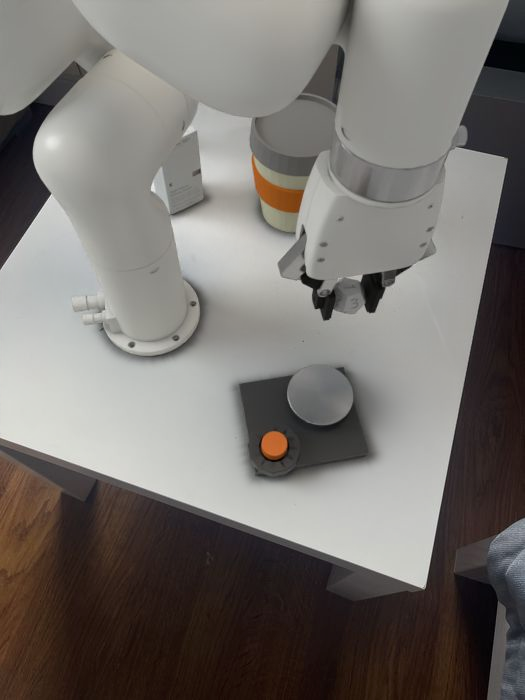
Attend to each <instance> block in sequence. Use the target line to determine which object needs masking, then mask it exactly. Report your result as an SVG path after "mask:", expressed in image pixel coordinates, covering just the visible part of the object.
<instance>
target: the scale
mask: <svg viewBox="0 0 525 700" xmlns="http://www.w3.org/2000/svg"><path fill="white" fill-rule="evenodd" d="M334 368H335V369H337V370H338V371H340V372H341V373H342V374H343V375H344V376H345V377H346V378H347V374H346V371H345V368H344V366H340V367H334ZM294 375H295V374H291V375H286V376H285V375H284V376H279V377H273V378H267V379H261V380H254V381H247V382H242V383H241V382H240V383H239V384H238V390H239V396H240V402H241V406H242V412H243V418H244V423H245V429H246V434H247V440H248V442H247V454H248V459H249V463H250V464H251V465H252V469H253V474H254V476H255V477H257V476H263V475H265V476H268V477H270V478H274V477H280V476H285V475H287V474H289V473H290V472H291V471H292V470H294V469H300V468H306V467H313V466H317V465H324V464H329V463H334V462H335V463H336V462H339V461H340V462H341V461H345V460H350V459H351V460H353V459H356V458H363V457H366V456H367V455H368V453H369V451H368V447H367V443H366V440H365V436H364V432H363V429H362V426H361V423H360V419H359V416H358V412H357V409H356V405H355V402H354V400H353V403H352V407H351V409H350V411H349V413H348V414H347V415H346V417H345V418H344V419H342V420H341V421H340V422H338V423H336V424H333V425H330V426H314V425H310V424H308V423H306V422H304V421H302V420H301V419H299V418H298V417H297V416H296V415H295V414H294V413H293V411H292V410H291V408H290V406H289V403H288V399H287V390H288V385H289V383H290V380H291V379H292V377H293V376H294ZM347 379H348V378H347ZM272 431H277V432H280V433H282V434H283V435H284V436H285V437H286V439H287V450H286V453H285V455H284V456H283V457H282V458H280V459H278V460H271V459H268V458H267V457H265V456H264V454H263V452H262V449H261V446H262V439H263V437H264V436H265V435H266V434H267V433H269V432H272Z"/></svg>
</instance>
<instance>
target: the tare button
mask: <svg viewBox="0 0 525 700" xmlns="http://www.w3.org/2000/svg"><path fill="white" fill-rule="evenodd" d="M261 449H262V452H263V454H264V456H265V457H267V458H268V459H271V460H278V459H280V458H282V457H283V456H284V455H285V453H286V450H287V439H286V437H285V436H284V435H283V434H282V433H280V432H277V431H272V432H269V433H267V434H266V435H265V436H264V437H263V439H262V446H261Z"/></svg>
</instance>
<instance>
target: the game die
mask: <svg viewBox="0 0 525 700" xmlns="http://www.w3.org/2000/svg"><path fill="white" fill-rule="evenodd" d="M334 291H335V295H336V300H335V304H334V308H333V311H335V312H338V313H341V314H347V315H355V314H357V313H358V312H359V310H361V309H362V307H363V306H365V305H364V304H365V303H366V296H365V292H364V289H363V285H362V283H361V280H358V279H355V278H350V277H344V278H338V280H337V282H336V284H335V286H334Z"/></svg>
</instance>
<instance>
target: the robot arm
mask: <svg viewBox="0 0 525 700" xmlns="http://www.w3.org/2000/svg"><path fill="white" fill-rule="evenodd" d="M509 2H510V0H0V116H9V115H14V114H16V113H18V112H20V111H22V110H24V109H26V107H28V106H29V105H31V104H32V103H33V102H34V101H35V100H36V99H38V98H39V97H40V96H41V95H42V94H43V93H44V92H45V91H46V90H47V89H48V88H49V87H50V86H51V85H52V84H53V83H54V82H55V81H56V80H57V79H58V78H59V77H60V76H61V75H62V74H63V72H65V70H67V68H69V66H71V64H72V63H73V62H75V63H76V64H77V65H79V66H80V67H81V68H82V69H83V70H84V71H86V73H85V74H84V76H83V77H82V78H80V79H79V80H77V82H76V83H75V84H74V85H73V86H72V87H71V88H70V89H69V91H68V92H66V94H65V95H64V96H63V97H62V98H61V99H60V100H59V101H58V103H56V104H55V106H54V107H53V108H52V109H51V111H49V113H48V114H47V116H46V117H45V118H44V120H43V122H42V123H41V124H40V127H39V129H38V131H37V133H36V135H35V138H34V141H33V145H32V146H33V147H32V161H33V164H34V168H35V169H36V170H35V171H36V172H37V174H38V176H39V178H40V180H41V182H42V183H43V184H44V185H45V188H46V189H47V190H48V192H50V194H51V195H52V196H53V198H54V199H55V200H56V201H57V203H58V204H59V205H60V207H61V208H62V210H63V211H64V212H65V214H66V217H68V219H69V221H70V223H71V225H72V227H73V228H74V231H75V233H76V235H77V237H78V239H79V241H80V244H81V246H82V248H83V251H84V252H85V255H86V257H87V259H88V262H89V264H90V266H91V269H92V271H93V273H94V276H95V278H96V281H97V284H98V285H99V288H100V290H101V291H97V292H96V294H94V295H93V294H91V295H80V296H72V297H71V304H72V309H73V311H74V313H81V312H88V311H90V310H98V309H99V310H100V312H97V313H93V312H92V313H86V314H82V322H83V325H84V326H91V325H93V326H94V325H97V324H101V323H102V327H103V329H104V332H105V334H106V335H107V337H108V338H109V340H110V341H111V342H112V343H113V344H114V345H115V346H116V347H117V348H119V349H121V350H122V351H123V352H126V353H128V354H129V353H130V354H131V355H135V356H141V357H153V356H160V355H163V354H167V353H170V352H172V351H174V350H175V349H178V348H179V347H181V346H182V345H183V344H184V343H186V342H187V341H188V340H189V339H190V338H191V337H192V336H193V334H194V332H195V331H196V329H197V327H198V325H199V322H200V318H201V316H200V315H201V307H200V301H199V297H198V294H197V293H196V291H195V289H194V287H192V285H191V284H189V282H188V281H186V280H185V279H184V278H183V274H182V269H181V265H180V260H179V254H178V247H177V244H176V238H175V233H174V229H173V224H172V220H171V214H169V211H168V209H167V206H166V205H165V203H164V201H163V200H162V199H161V198H160V197H159V196H158V195H157V194H156V192H154V191H153V190H152V186H153V183H154V181H153V180H154V177H155V176H156V174H157V172H158V171H159V169H160V168H161V166H162V165H163V164H164V162H165V161H166V159H167V157H168V155H169V154H170V153H171V151H172V150H173V148H174V147H175V146H176V144H177V143H178V142H179V140H180V139H181V137H182V136H183V135H184V133H185V132H186V130H187V129H188V127H189V126H190V124H191V125H192V123H193V121H194V119H195V117H196V114H197V113H198V112H197V111H198V108H199V103H200V104H202V105H205V106H206V107H208V108H211V109H212V110H215V111H217V112H221V113H224V114H227V115H230V116H233V117H238V118H239V117H240V118H248V119H252V118H256V117H263V116H268V115H271V114H273V113H276V112H278V111H280V110H282V109H284V108H285V107H287V106H288V105H289V104H290V103H291V102H293V101H294V100H295V99H296V98H297V97H298V96H299V95H300V94H301V93H303V91H304V90H305V88H306V87H307V86H308V84H309V83H310V82H311V80H312V78H313V77H314V76H315V74H316V72H317V70H318V69H319V67H320V66H321V64H322V62H323V61H324V59H325V57H326V56H327V54H328V52H329V50H330V49H331V47H332V46H333V45H338V46H339V47H340V48H341V49H342V50H343V53H344V58H343V59H344V60H343V67H342V73H341V78H340V85H339V92H338V98H337V104H336V106H337V110H336V116H335V122H334V129H333V135H332V141H331V147H330V150H326V151H323V152H321V153H320V154H319V156H318V157H317V159H316V161H315V164H314V166H313V168H312V171H311V173H310V176H309V178H308V181H307V184H306V187H305V191H304V194H303V198H302V202H301V206H300V210H299V215H298V220H297V226H296V232H295V241H296V242H295V243H294V244H293V245H292V246H291V247H290V248H289V249H288V250H287V252H286V253H285V254H284V255H283V256H282V257H281V258H280V259H279V260H278V262H277V268H278V271H279V275H280V277H281V278H283V279H287V280H292V281H300V282H301V284H302V285H304V286H306V287H308V288H310V289H311V290H312V291H311V301H312V305H313V309H314V310H319V311H320V312H319V313H320V315H321V318H322V321H323V322H325V321H330V319H332V316H333V311H334V309H333V308H334V304H335V300H336V295H335V291H334V286H335V284H336V282H337V281H338V280H339V279H341V278H344V277H345V278H351V277H356V276H361V279H360V282H361V283H362V285H363V289H364V292H365V296H366V303H365V304H364V305H363V306H364V308H365V311H366V313H368V314H375V313H376V312H377V308H378V306H379V303H380V301H381V300H382V299H383V297H384V295H385V291H386V289H387V288H389V287H392V286H393V285H394V284H395V283H396V278H397V276H399V275H401V274H403V273H404V272H405V271H407V270H409V269H411V268H412V267H413V266H414V265H416V264H417V263H419V262H420V261H423V260H425V259H427V258H429V257H431V256H433V255H435V254H436V253H437V248H436V246H435V243H434V241H433V239H432V238H433V235H434V232H435V229H436V225H437V223H438V219H439V216H440V212H441V210H442V209H441V208H442V204H443V200H444V192H445V184H446V173H447V172H446V171H447V170H446V165H445V164H446V161H447V159H448V156H449V155H450V152H451V151H454V150H455V149H456V148H462V147H465V146H466V144H467V141H468V136H469V135H468V129H467V127H466V126H465V125H461V122H462V119H463V117H464V114H465V112H466V110H467V107H468V104H469V102H470V99H471V97H472V95H473V92H474V89H475V87H476V85H477V82H478V79H479V77H480V75H481V72H482V69H483V67H484V64H485V62H486V60H487V57H488V55H489V52H490V49H491V47H492V46H493V42H494V40H495V38H496V35H497V32H498V30H499V28H500V25H501V22H502V20H503V18H504V15H505V13H506V10H507V8H508V5H509Z"/></svg>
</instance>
